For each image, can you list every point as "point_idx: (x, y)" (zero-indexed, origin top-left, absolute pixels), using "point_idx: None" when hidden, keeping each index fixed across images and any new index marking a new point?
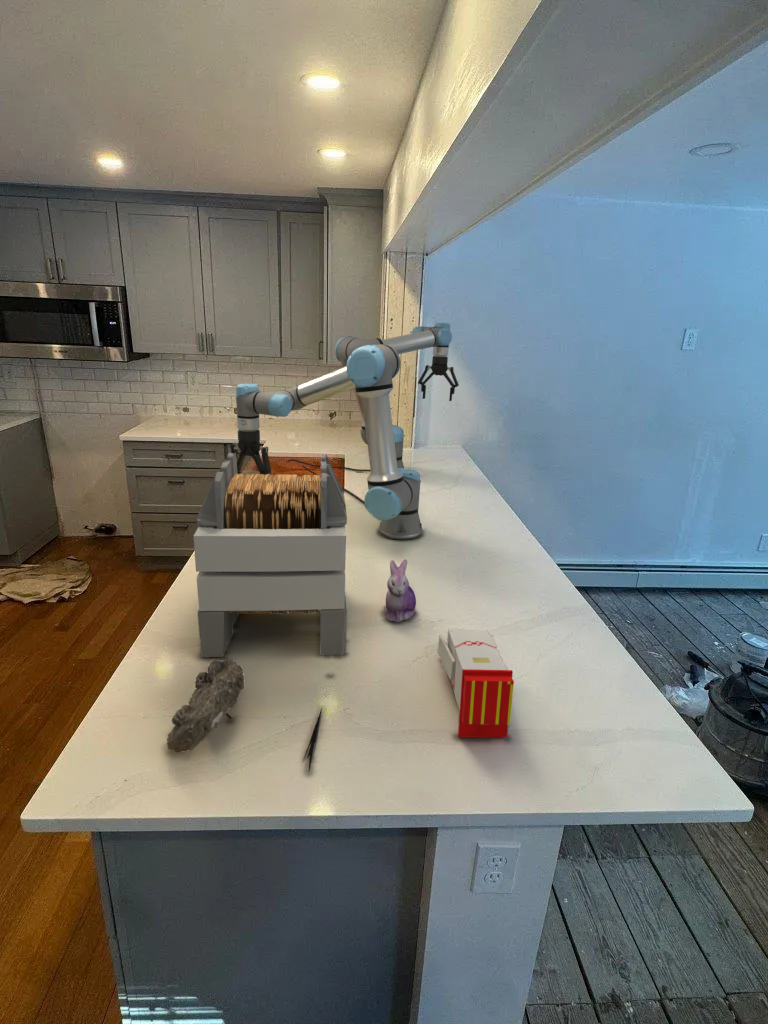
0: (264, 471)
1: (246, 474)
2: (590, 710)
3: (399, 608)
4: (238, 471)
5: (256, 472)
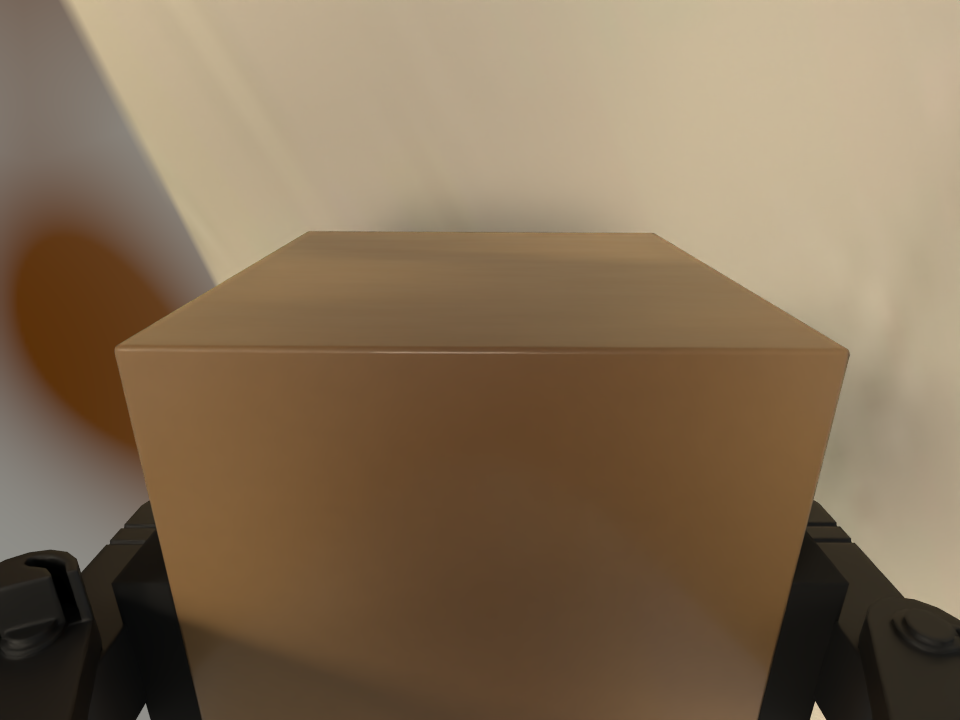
0: (958, 718)
1: (412, 715)
2: None
3: None
4: (118, 689)
5: (562, 493)
